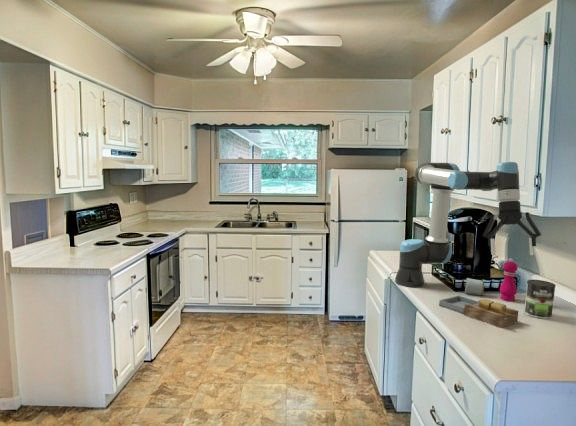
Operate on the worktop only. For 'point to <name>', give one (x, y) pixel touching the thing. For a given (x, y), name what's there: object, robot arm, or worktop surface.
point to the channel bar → (491, 315)
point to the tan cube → (485, 304)
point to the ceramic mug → (474, 286)
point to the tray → (457, 303)
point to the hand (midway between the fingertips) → (512, 255)
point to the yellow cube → (498, 308)
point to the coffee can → (539, 299)
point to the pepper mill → (509, 281)
